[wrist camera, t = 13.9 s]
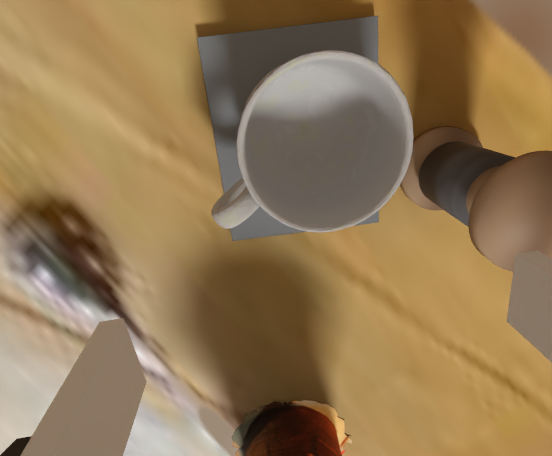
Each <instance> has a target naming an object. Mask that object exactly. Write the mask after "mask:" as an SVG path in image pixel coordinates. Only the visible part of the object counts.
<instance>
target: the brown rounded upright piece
mask: <svg viewBox="0 0 552 456" xmlns="http://www.w3.org/2000/svg"><path fill="white" fill-rule="evenodd" d="M400 186H401V188H402V190H403V192H404V193H405V195H406V196H407V197H408V198H409V199H410V200H411V201H413V202H414V203H415V204H417V205H418V206H420V207H422V208H425V209H429V210H445V211H446V212H448V213H449V214H450V215H452V216H453V217H455V218H456V219H458V220H459V221H461V222H462V223H464V224H465V225H467V226H468V227H469V234H470V237H471V240H472V242H473V244H474V246H475V247H476V249H477V250H478V251H479V252H480V253H481V254H482V255H483V256H485V257H486V258H487V259H488V260H490V261H491V262H492V263H494V264H495V265H497V266H498V267H500V268H502V269H505V270H508V271H514V264H515V257H516V254H519V253H525V252H531V251H537V250H538V251H540V252H542V253H543V254H545V255H547V256H549V257H550V258H552V151H536V152H531V153H527V154H524V155H521V156H519V157H516V158H515V157H512V156H508V155H505V154H502V153H498V152H495V151H492V150H488V149H485V148H483V147H482V145H481V143H480V141H479V140H478V139H477V138H476V137H475V136H474V135H473V134H471V133H470V132H468V131H466V130H463V129H459V128H455V127H448V126H444V127H437V128H433V129H430V130H428V131H426V132H424V133H422V134H421V135H419V136H418V137H417V138H416V139H415V140H414V141H413V150H412V155H411V159H410V163H409V166H408V169H407V171H406V174H405V176H404V178H403V180H402V182H401V184H400Z"/></svg>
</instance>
